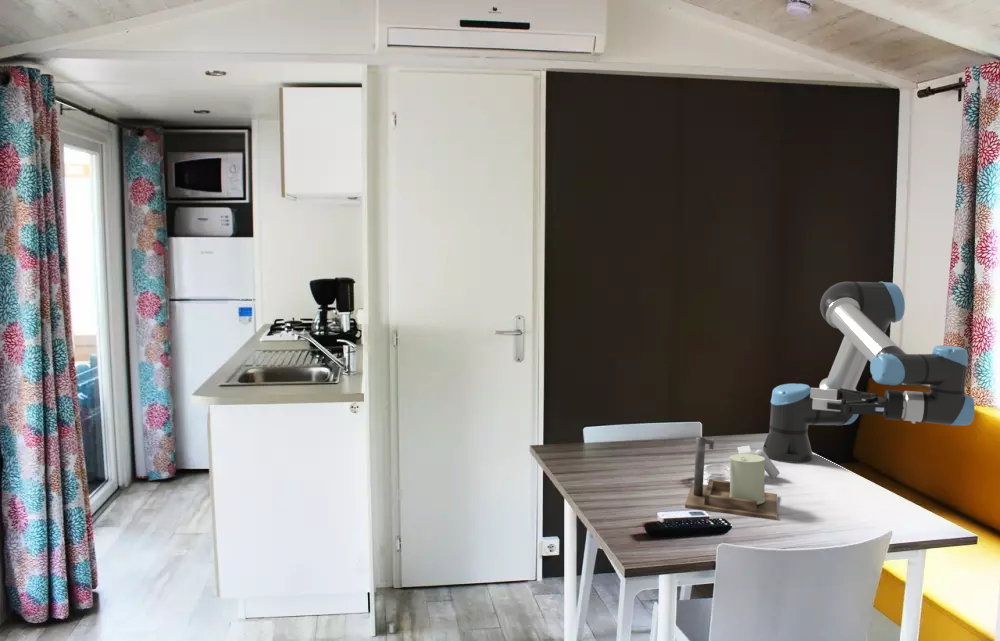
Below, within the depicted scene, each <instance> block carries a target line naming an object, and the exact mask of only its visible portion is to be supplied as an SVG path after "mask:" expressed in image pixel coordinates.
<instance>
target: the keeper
mask: <svg viewBox="0 0 1000 641" xmlns="http://www.w3.org/2000/svg"><path fill="white" fill-rule="evenodd" d="M714 442H715V440H714V438H708V437H704V436H703V437H702V436H696V438H695V458H694V459H695V460H694V461H695V462H694V480H693V481H694V483H691V487H690V489H689V493H688V495H687V497H686V501H685V503H684V508H687V509H693V510H702V511H708V512H717V513H722V514H723V513H725V514H731V515H732V514H733V515H740V516H746V517H753V518H754V517H755V518H760V517H761V519H768V520H778V493H772V492H765V502H764V503H762V504H757V501H755V500H747V499H739V498H732V497H730V480H719V479H713V478H709V479H708V483H707V484H704V474H705V473H704V472H705V453H706V445H709V447H708V449H709V450H714V448H715V447H714Z"/></svg>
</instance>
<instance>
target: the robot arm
mask: <svg viewBox="0 0 1000 641" xmlns="http://www.w3.org/2000/svg"><path fill="white" fill-rule="evenodd" d="M905 303H906V301H905V298H904V294H903V292H902V290H901V288H900V287H899V286H898V285H897V284H896V283H893V282H884V281H879V282H876V281H875V282H869V281H841V282H838V283H835V284H833V285H831V286H830V287H829V288H828V289H827V290H826V291H825V292H824V293H823V295H822V296H821V299H820V304H819V309H820V313H821V316H822V317H823V319H824V320H825V321H826V322H827V323H828V325H829V326H831V327H832V328H834V329H838V330H839V331H840V332H841V333H842V334H843V335H844V336H843V338H842V341H841V344H840V346H839V349H838V352H837V354H836V356H835V359H834V361H833V363H832V366H831V369H830V371H829V374H828V376H827V377H826V378H823V379H822V380H821V381H820V383H819V385H818V387H810V386H809V384H805V383H784V384H780V385H778V386H776V387H774V388H773V389H772V393H771V399H770V420H769V430H768V431H769V432H768V433H767V437H766V439H765V442H764V443H763V445H762V450H763V451H764V452H765V453H766V455H767V456H768V457H769V459H770V460H771V459H772V460H775V461H779V462H780V461H781V462H787V463H807V462H809V461H811V460H812V459H813V450H812V446H811V443H810V439H809V435H808V431H809V426H845V425H851V424H853V423H854V422H855V421H856V420H857V419H858V418H859V415H882V416H883V417H884V419H885V420H890V421H891V420H892V421H900V420H903V421H904V422H905V421H907V422H911V424H914V425H915V424H916V422H917V423H927V424H937V425H938V424H939V425H946V426H947V425H948V426H969V425H971V424H972V423H973V422H974V418H975V412H976V411H975V400H974V398H973V396H971V395H967V394H966V391H965V390H966V389H965V387H966V379H967V371H968V365H969V364H968V363H969V361H968V359H969V357H968V355H969V353H968V351H967V349H966V348H964V347H960V346H956V345H935V346H934V347H933V349H932V352H931V353H925V354H923V353H921V354H920V353H914V354H913V353H907V352H905V351H904V350H903V349H902V348H900V347H899V346H898V345H897V344H896V342H894V341H893V340H892V339H891V338H890V337H889V336H888V335H887V334H886V331H887V330H888V328H889V327H890V326H889V325H890V323H898V322H900V321H902V319H903V317H904V315H905V309H906V304H905ZM868 361H869V362H870V366H869V368H870V374H871V377H872V380H874V382H875V383H877V384H879V385H889V386H906V385H907V386H910V385H913V386H915V385H919V386H920V385H921V386H924V385H925V386H926V385H927V386H929V390H930V391H929V392H924V391H915V390H914V391H912V390H904V391H902V390H899V389H897V390H896V389H887V390H885V391H884V394H883V395H884V396H883V397H881V396H879V393H877V392H875V393H874V392H872V393H871V392H865V391H859V390H857V385H858V383H859V381H860V378H861V376H862V373H863V371H864V370H865V367H866V365H867V362H868Z"/></svg>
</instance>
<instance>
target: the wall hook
mask: <svg viewBox="0 0 1000 641" xmlns="http://www.w3.org/2000/svg"><path fill="white" fill-rule="evenodd" d="M736 448H737V452H738V453H737V454H754V455H759V456H762V457H764V458H765V472H766V473H767V475H768V476H769V478H770V479H775V478H776V477H778V476H779V474H780V471H779V470H778V468H777V467H776V465H775V464H774V463H773V461H772V460H771V458H769V457H768V456H767V455H766V453H765V452H764V451H763V449H756V451H754V453H752V450H751V447H750V445H742V446H738V447H736Z"/></svg>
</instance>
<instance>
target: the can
mask: <svg viewBox="0 0 1000 641" xmlns="http://www.w3.org/2000/svg"><path fill="white" fill-rule="evenodd" d="M754 454H755V453H752V454H739V453H736V454H731V455H729V482H730V497H732V498H739V499H747V500H755V501H757V504H762V503H764V502H765V493H766V492H765V491H766V490H765V482H766V481H765V476H766V475H765V472H766V471H765V458H764V457H762V456H759V455H754Z"/></svg>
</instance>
